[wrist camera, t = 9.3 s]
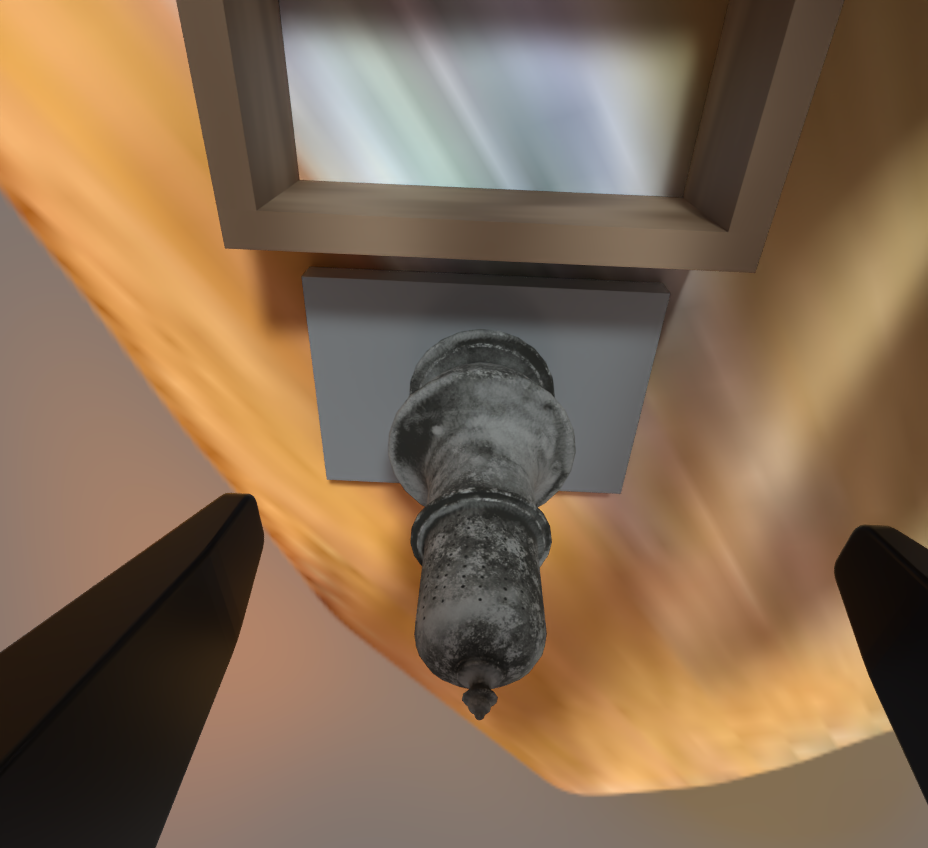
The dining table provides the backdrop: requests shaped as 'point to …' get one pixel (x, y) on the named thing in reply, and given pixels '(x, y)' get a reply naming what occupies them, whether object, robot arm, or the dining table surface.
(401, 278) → the slate pad
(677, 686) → the dining table surface
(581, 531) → the dining table surface
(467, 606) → the grey turned upright piece
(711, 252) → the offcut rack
